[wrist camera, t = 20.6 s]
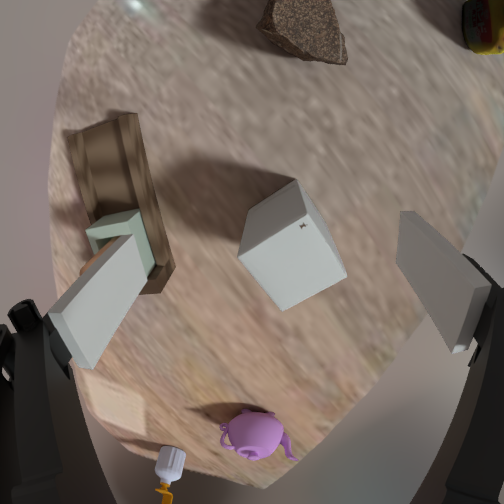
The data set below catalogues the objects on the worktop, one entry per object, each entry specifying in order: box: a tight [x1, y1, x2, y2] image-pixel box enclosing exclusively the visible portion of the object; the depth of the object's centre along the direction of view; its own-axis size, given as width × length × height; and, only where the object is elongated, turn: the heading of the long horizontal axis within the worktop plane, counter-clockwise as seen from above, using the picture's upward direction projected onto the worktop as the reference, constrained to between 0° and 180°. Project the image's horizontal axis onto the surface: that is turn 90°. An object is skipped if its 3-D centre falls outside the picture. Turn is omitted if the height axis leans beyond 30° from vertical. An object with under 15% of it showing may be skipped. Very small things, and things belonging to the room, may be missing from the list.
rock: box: [256, 0, 348, 65], centre depth 28 cm, size 12×10×10 cm
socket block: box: [85, 208, 157, 277], centre depth 43 cm, size 9×8×6 cm
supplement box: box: [237, 179, 347, 311], centre depth 38 cm, size 9×9×15 cm
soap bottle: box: [155, 446, 186, 504], centre depth 73 cm, size 9×9×25 cm
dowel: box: [80, 235, 121, 276], centre depth 39 cm, size 4×4×11 cm
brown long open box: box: [68, 113, 176, 295], centre depth 41 cm, size 26×11×8 cm, turn 9°
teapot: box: [220, 409, 298, 461], centre depth 63 cm, size 20×14×12 cm
